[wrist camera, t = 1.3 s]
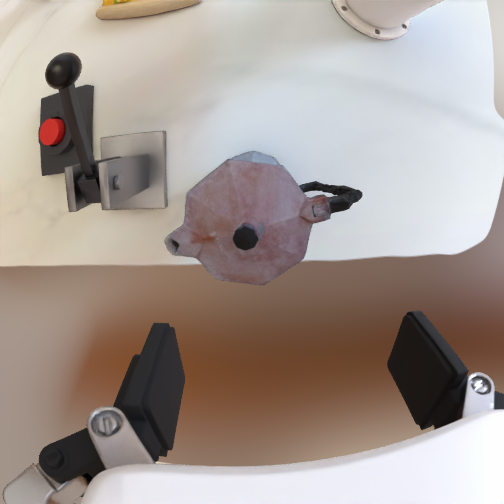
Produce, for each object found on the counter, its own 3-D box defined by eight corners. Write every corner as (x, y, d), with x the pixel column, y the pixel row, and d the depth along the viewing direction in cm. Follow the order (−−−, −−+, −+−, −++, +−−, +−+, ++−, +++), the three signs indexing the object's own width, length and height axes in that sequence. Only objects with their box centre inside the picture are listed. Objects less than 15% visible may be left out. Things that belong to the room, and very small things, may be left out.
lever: (56, 54, 14) (34, 65, 12) (85, 44, 14) (65, 53, 12) (92, 186, 26) (80, 206, 24) (117, 184, 26) (107, 205, 24)
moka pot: (185, 170, 34) (122, 205, 16) (300, 130, 33) (366, 120, 14) (212, 236, 38) (186, 329, 19) (321, 199, 36) (394, 260, 18)
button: (46, 121, 27) (39, 121, 25) (65, 116, 27) (58, 116, 26) (47, 146, 28) (39, 147, 27) (65, 142, 29) (58, 142, 27)
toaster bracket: (104, 137, 32) (48, 142, 20) (165, 131, 32) (126, 127, 20) (108, 208, 35) (58, 239, 24) (167, 206, 36) (133, 238, 24)
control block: (47, 99, 28) (33, 98, 25) (93, 85, 29) (81, 82, 25) (48, 174, 33) (34, 178, 30) (93, 167, 33) (80, 170, 30)
